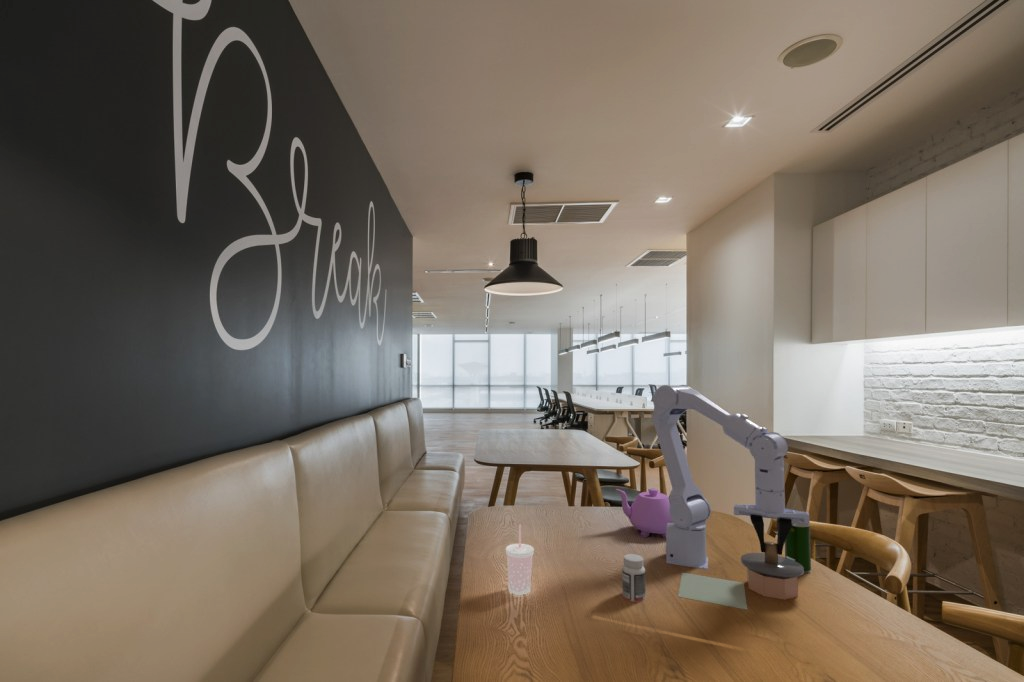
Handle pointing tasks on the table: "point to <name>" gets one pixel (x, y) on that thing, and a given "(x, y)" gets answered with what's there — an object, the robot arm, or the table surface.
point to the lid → (772, 562)
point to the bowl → (772, 585)
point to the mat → (713, 590)
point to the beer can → (799, 545)
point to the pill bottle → (633, 578)
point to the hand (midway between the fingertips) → (771, 552)
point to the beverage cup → (519, 566)
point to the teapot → (648, 512)
